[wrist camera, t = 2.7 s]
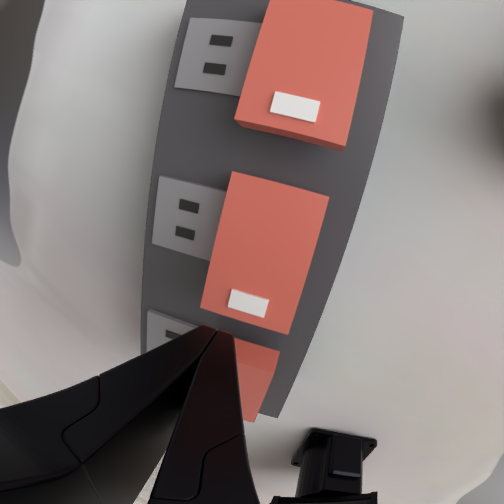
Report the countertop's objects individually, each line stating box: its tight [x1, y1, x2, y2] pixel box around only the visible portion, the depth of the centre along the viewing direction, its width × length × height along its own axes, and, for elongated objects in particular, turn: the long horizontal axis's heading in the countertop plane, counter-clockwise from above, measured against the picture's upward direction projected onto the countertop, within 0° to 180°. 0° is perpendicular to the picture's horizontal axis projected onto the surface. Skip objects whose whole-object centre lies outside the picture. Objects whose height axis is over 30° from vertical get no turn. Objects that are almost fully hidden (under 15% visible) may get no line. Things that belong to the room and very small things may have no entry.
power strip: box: [141, 0, 404, 418], centre depth 15 cm, size 34×10×5 cm, turn 168°
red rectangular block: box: [235, 338, 280, 423], centre depth 17 cm, size 6×4×2 cm, turn 169°
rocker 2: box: [200, 171, 329, 335], centre depth 14 cm, size 6×4×2 cm, turn 168°
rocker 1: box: [234, 0, 373, 152], centre depth 11 cm, size 6×4×2 cm, turn 168°
